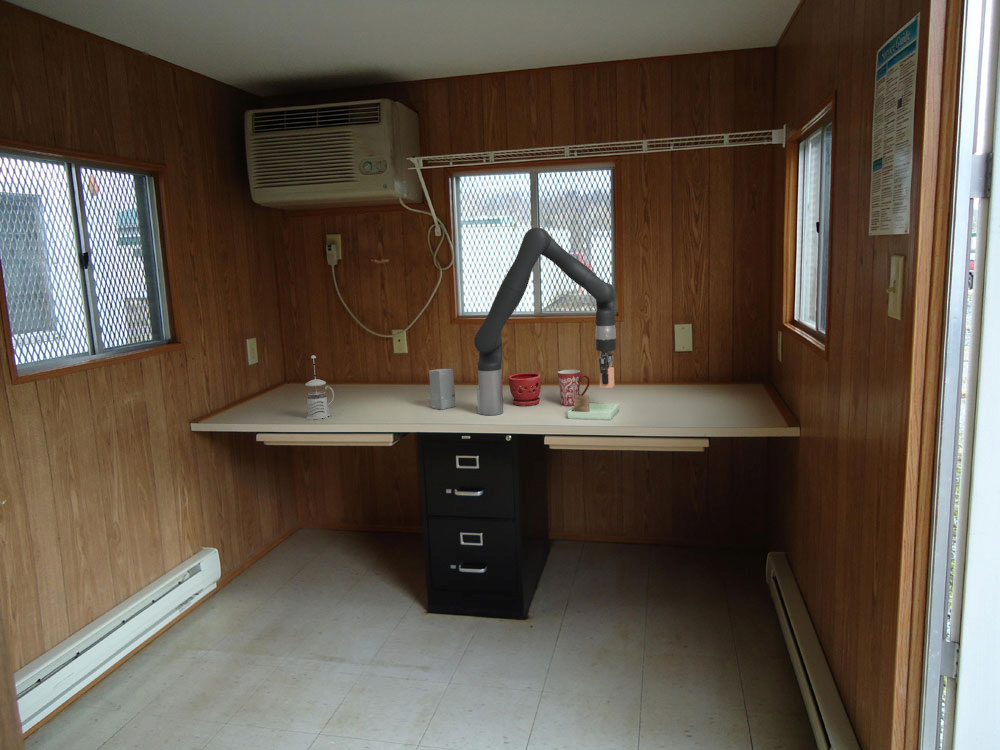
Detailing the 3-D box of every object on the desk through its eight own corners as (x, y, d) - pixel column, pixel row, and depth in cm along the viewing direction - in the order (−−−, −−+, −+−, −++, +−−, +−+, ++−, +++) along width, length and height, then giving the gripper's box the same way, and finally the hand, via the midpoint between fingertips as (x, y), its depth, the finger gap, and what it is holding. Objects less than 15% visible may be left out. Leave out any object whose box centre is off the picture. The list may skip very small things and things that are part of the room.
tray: (567, 418, 268) (567, 411, 268) (578, 409, 283) (578, 402, 282) (610, 420, 263) (610, 413, 262) (619, 410, 277) (619, 404, 277)
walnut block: (574, 416, 269) (574, 397, 268) (577, 413, 273) (577, 395, 272) (586, 416, 267) (586, 398, 266) (589, 414, 271) (589, 395, 270)
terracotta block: (599, 387, 271) (599, 369, 270) (602, 385, 275) (602, 367, 274) (611, 387, 269) (611, 369, 268) (614, 385, 273) (613, 367, 272)
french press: (308, 415, 296) (302, 354, 292) (337, 413, 297) (331, 352, 293) (304, 420, 287) (298, 357, 282) (334, 418, 288) (328, 355, 283)
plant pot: (516, 400, 306) (514, 372, 304) (545, 401, 301) (544, 372, 299) (505, 406, 294) (503, 377, 292) (536, 407, 289) (534, 378, 287)
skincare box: (441, 410, 293) (439, 371, 291) (429, 408, 298) (427, 370, 296) (456, 406, 300) (454, 368, 297) (445, 404, 304) (442, 367, 302)
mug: (558, 407, 289) (557, 373, 287) (558, 402, 298) (557, 369, 295) (590, 406, 288) (589, 372, 285) (589, 401, 296) (589, 368, 294)
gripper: (600, 335, 277) (601, 379, 280) (591, 339, 264) (592, 386, 267) (619, 334, 274) (620, 379, 277) (611, 339, 261) (612, 386, 264)
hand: (606, 382), depth 272 cm, fingers closed on terracotta block, 4 cm apart
